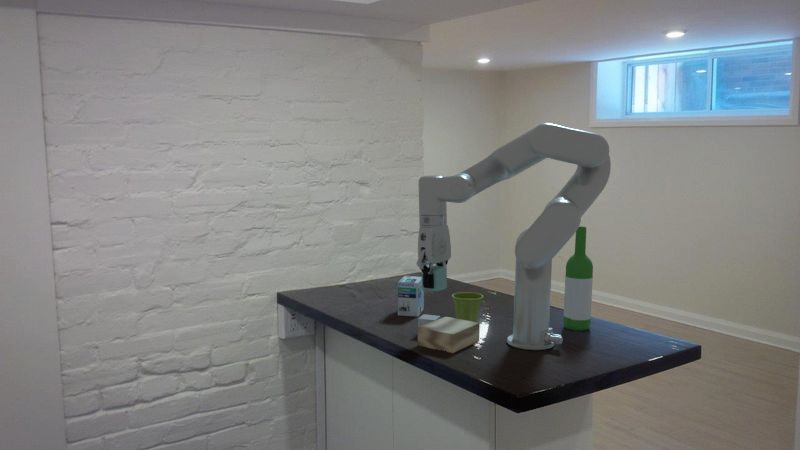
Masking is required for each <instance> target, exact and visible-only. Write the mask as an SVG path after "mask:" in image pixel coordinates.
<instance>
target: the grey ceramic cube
mask: <svg viewBox="0 0 800 450" xmlns="http://www.w3.org/2000/svg"><path fill="white" fill-rule="evenodd" d="M440 318H441V315H434V314H424V313H423V314H422V315H421V316H420V317H419V316H418V318H417V328H418V327H420V326H422V325H425V324H427V323H430V322H433V321H435V320H438V319H440Z"/></svg>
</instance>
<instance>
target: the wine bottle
mask: <svg viewBox="0 0 800 450" xmlns="http://www.w3.org/2000/svg"><path fill="white" fill-rule="evenodd" d="M574 238H575V239H574V241H575V242H574V243H575V244H574V254H573V255H570V257H569V258H568V259H567V261H566V265H565V276H564V277H565V278H564V279H565V280H564V295H563V297H564V298H563V299H564V300H563V321H562V322H563V326H564V328H565V329H567V330H571V331H577V332H581V331H582V332H583V331H588V330H589V329H590V328H591V321H592V320H591V318H592V303H593V301H592V300H593V299H592V298H593V278H594V277H593V276H594V275H593V274H594V267H593V266H594V264H593V262H592V260H591V258H590V257H589V256H587V254H586V252H587V251H586V248H587V245H586V244H587V227H586V226H579V228H578V229H577V231H576V232H575V237H574Z"/></svg>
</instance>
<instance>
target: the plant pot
mask: <svg viewBox="0 0 800 450" xmlns="http://www.w3.org/2000/svg"><path fill="white" fill-rule="evenodd" d="M451 298H452V300H453V303H454V310H455V318H456V319H461V320H467V321H472V322H477V323H479V322H478V320H479V316H480V314H479V313H480V307H481V303H482V300H483V298H484V295H483V294H481V293H477V292H468V291H467V292H465V291H464V292H455V293H453V294H451Z"/></svg>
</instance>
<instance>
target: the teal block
mask: <svg viewBox="0 0 800 450" xmlns="http://www.w3.org/2000/svg"><path fill="white" fill-rule="evenodd" d="M426 266H427V267H428V268H429V265H426ZM447 269H448V268H447V266H446V267H443V266H436V265H435V264H433V270H432V274H434V288H433V289H430V288H424V287H423V274H422V272H421V271H420V273H421V274H420V275H421V276H420V277H421V278H422V290H424V291H431V292H439V291H440V292H441V291H443V290H445V289H448V282H447V281H448V279H447V278H448V277H447V276H448V274H447V273H448V272H447Z"/></svg>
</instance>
